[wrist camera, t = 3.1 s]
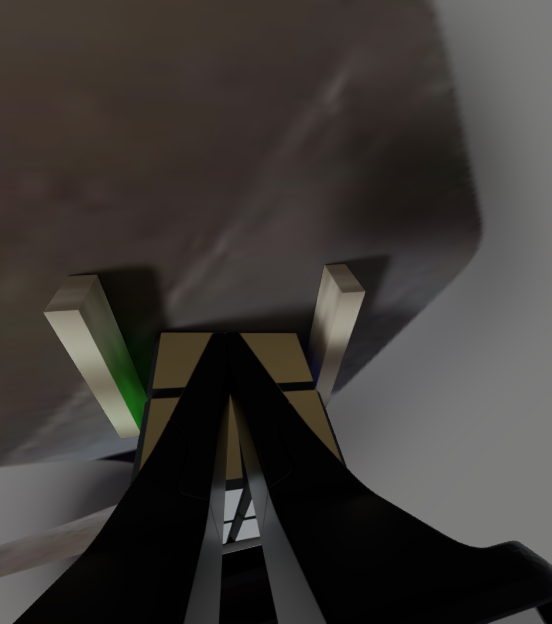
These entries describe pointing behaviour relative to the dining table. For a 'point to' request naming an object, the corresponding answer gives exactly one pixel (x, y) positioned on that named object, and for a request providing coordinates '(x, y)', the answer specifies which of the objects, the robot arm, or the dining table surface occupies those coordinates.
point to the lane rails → (118, 364)
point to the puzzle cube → (231, 408)
